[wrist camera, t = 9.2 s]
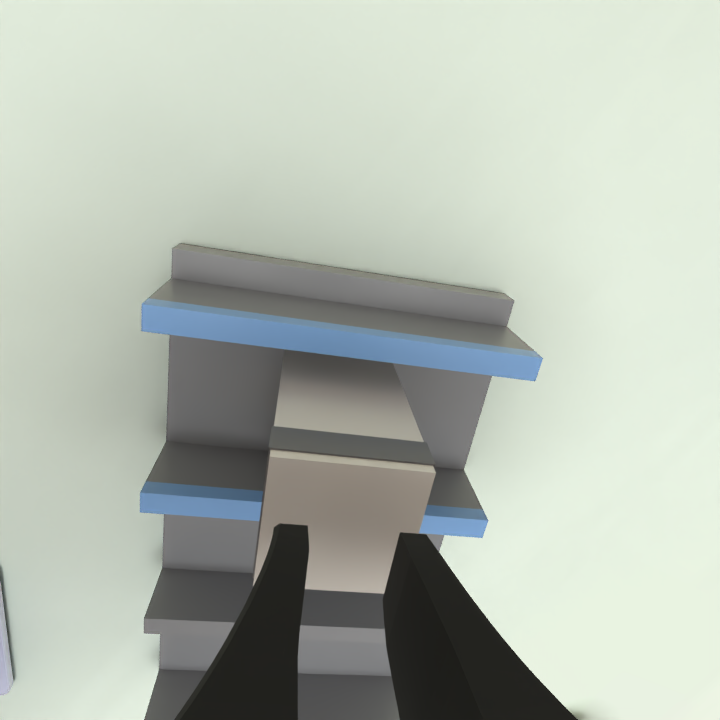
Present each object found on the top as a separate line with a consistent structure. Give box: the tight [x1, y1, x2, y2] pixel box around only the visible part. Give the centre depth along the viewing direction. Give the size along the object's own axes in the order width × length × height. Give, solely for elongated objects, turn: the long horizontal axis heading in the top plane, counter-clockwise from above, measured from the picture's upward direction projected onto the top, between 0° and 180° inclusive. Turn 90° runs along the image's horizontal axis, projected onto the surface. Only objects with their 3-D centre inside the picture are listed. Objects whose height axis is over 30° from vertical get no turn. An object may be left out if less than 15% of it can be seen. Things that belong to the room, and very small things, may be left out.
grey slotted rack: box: [140, 244, 543, 720], centre depth 20 cm, size 12×22×4 cm, turn 170°
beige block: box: [252, 349, 436, 594], centre depth 15 cm, size 4×4×7 cm
